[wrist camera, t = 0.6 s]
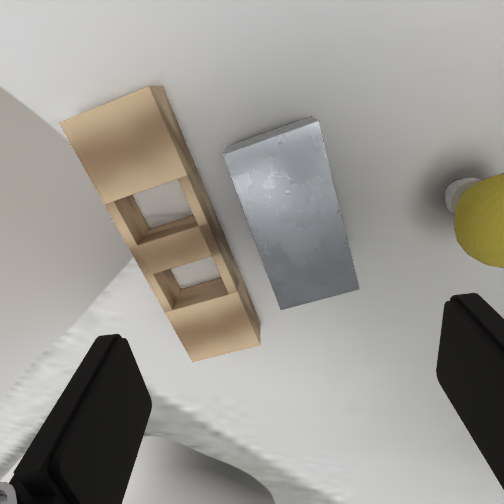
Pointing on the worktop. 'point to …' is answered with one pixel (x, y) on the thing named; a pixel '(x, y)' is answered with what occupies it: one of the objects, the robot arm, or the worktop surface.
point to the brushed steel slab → (293, 212)
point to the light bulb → (479, 217)
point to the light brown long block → (172, 234)
